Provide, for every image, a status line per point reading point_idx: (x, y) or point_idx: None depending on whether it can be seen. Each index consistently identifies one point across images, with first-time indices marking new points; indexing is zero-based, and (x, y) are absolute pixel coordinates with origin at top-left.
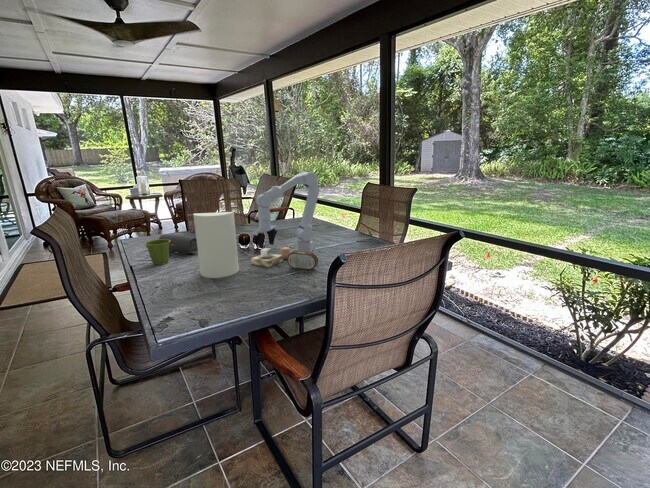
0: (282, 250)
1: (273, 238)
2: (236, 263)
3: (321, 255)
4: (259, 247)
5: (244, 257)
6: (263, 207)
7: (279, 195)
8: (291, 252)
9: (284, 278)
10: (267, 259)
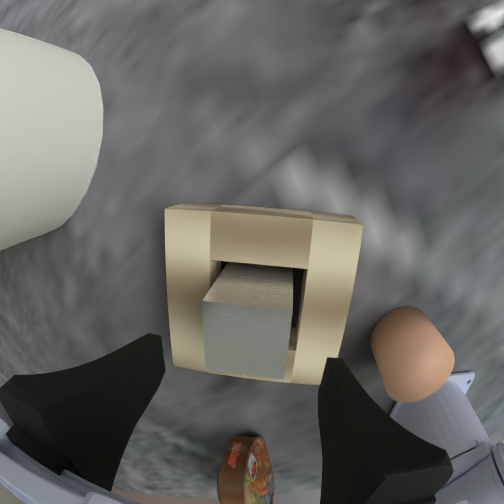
0: (385, 374)
1: (325, 456)
2: (22, 240)
3: None
4: (145, 338)
5: (286, 44)
6: None
7: None
8: (229, 496)
9: (134, 435)
10: (201, 344)
